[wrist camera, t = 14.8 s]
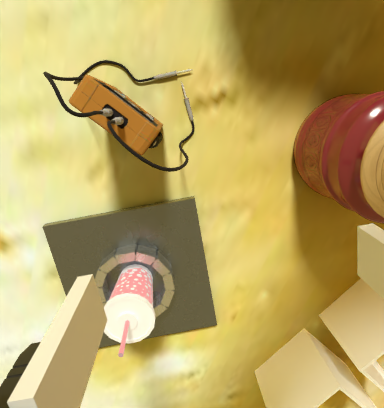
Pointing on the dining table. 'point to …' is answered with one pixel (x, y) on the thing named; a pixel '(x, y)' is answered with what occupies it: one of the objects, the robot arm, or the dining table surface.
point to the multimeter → (119, 112)
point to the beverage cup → (130, 307)
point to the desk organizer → (329, 356)
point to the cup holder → (141, 259)
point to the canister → (345, 152)
